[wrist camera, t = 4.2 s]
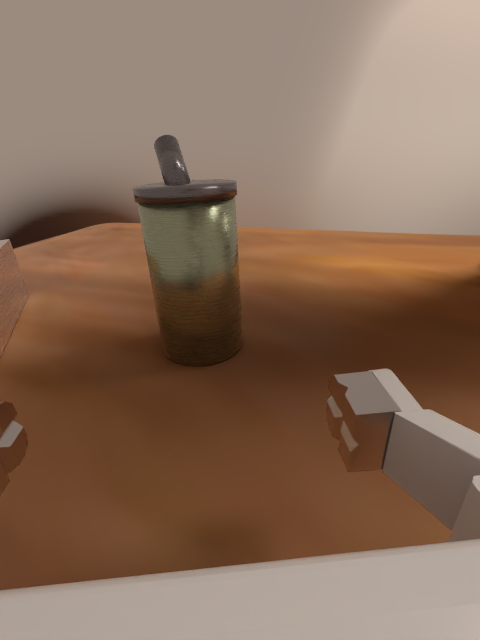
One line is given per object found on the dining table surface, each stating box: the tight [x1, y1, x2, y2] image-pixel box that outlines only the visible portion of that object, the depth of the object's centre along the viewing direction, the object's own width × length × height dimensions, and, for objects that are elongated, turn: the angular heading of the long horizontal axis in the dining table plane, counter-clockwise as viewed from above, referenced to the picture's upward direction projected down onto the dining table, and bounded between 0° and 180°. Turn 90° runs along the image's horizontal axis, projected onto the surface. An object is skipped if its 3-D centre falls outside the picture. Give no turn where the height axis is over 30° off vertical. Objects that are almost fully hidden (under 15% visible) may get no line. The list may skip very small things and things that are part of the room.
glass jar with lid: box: [133, 135, 243, 366], centre depth 19 cm, size 5×7×12 cm
